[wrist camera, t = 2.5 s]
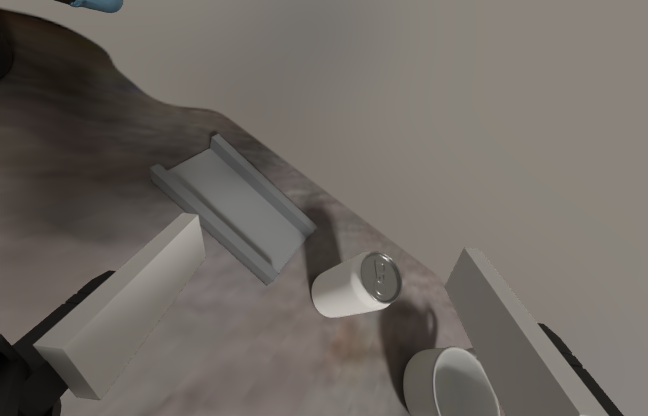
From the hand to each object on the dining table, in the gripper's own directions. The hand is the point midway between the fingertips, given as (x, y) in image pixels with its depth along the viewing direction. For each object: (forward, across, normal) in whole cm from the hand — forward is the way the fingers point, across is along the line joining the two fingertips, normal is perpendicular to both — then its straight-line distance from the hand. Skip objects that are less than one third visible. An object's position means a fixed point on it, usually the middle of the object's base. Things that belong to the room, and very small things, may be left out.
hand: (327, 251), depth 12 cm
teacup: (+10, +18, -31) cm, 38 cm away
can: (+15, +2, -21) cm, 26 cm away
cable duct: (+20, -13, -11) cm, 26 cm away
